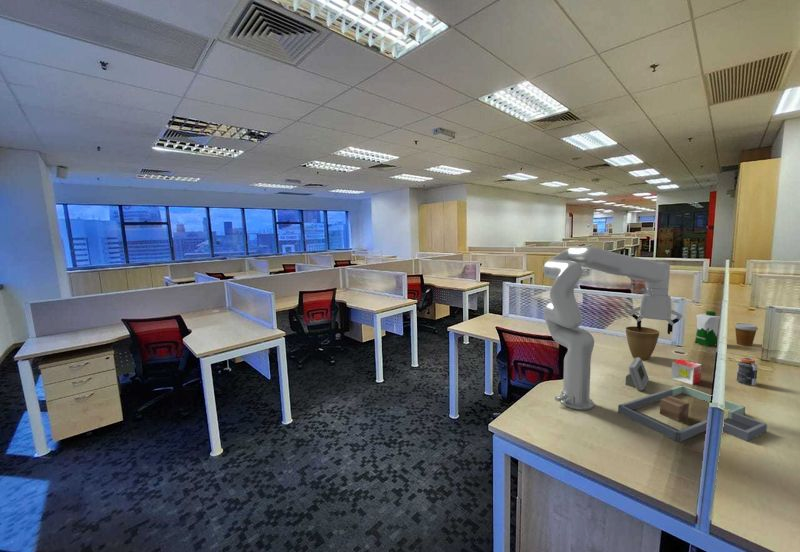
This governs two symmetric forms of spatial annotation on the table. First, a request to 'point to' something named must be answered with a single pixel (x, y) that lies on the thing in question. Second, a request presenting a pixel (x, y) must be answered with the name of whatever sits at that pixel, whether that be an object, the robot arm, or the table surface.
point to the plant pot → (642, 341)
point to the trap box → (732, 425)
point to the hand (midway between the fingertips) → (653, 331)
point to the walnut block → (674, 408)
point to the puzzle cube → (686, 371)
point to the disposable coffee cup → (745, 333)
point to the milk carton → (707, 328)
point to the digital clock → (637, 375)
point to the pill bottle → (747, 371)
